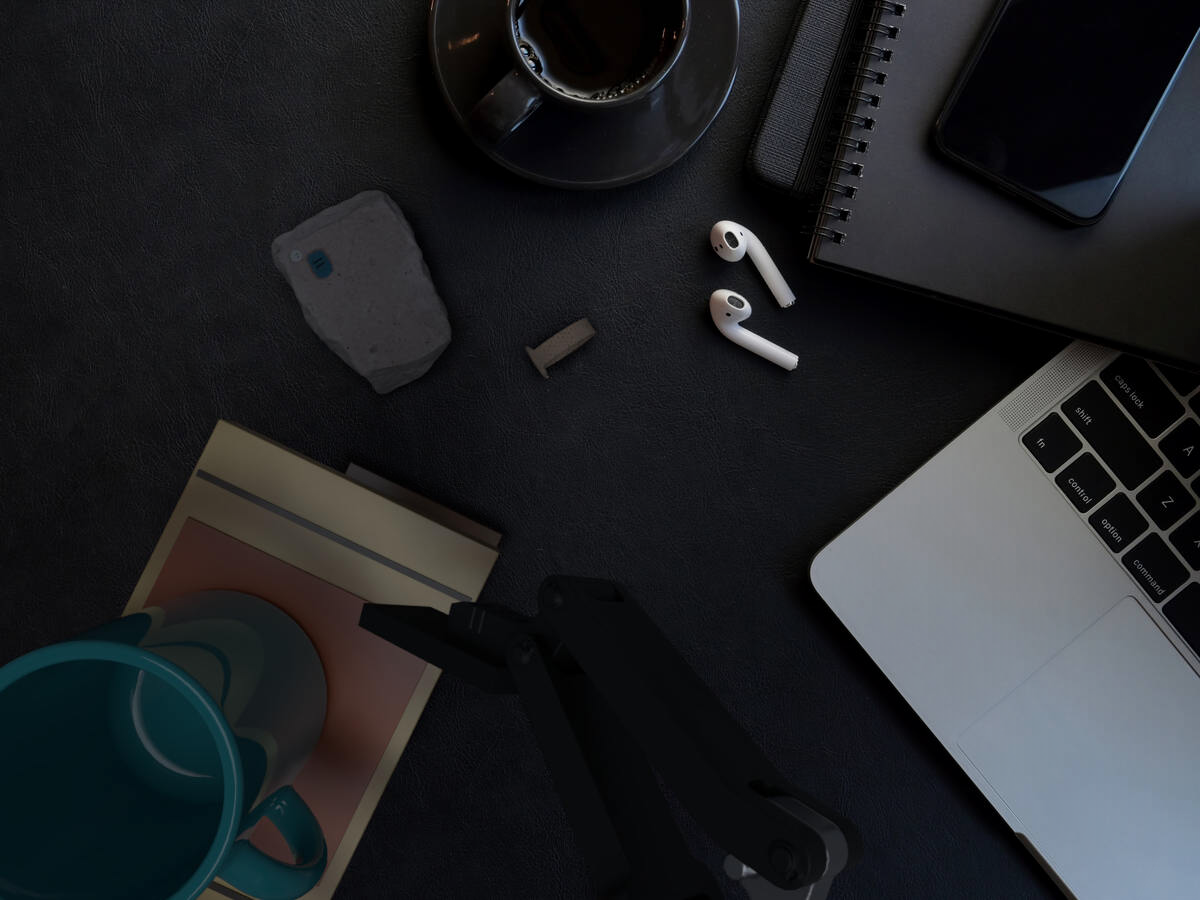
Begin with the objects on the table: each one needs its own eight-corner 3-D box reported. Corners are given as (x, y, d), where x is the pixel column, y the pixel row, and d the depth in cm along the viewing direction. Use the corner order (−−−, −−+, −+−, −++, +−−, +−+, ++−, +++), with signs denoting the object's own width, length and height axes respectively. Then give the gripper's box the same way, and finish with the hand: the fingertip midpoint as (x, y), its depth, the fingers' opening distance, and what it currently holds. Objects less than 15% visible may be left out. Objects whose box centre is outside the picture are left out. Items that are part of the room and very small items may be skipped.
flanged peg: (525, 351, 68) (523, 343, 63) (580, 315, 68) (582, 304, 63) (545, 382, 68) (545, 376, 63) (600, 346, 68) (604, 338, 63)
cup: (277, 897, 39) (165, 1078, 28) (63, 701, 38) (-139, 803, 27) (428, 737, 39) (378, 851, 28) (217, 541, 39) (80, 577, 28)
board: (299, 964, 41) (288, 986, 39) (22, 839, 40) (-1, 856, 38) (501, 549, 41) (499, 553, 39) (231, 419, 40) (217, 418, 39)
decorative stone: (274, 251, 67) (248, 232, 61) (390, 189, 68) (375, 164, 62) (365, 412, 68) (348, 409, 62) (480, 349, 68) (473, 340, 62)
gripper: (924, 1849, 19) (352, 1149, 33) (1199, 643, 19) (517, 465, 34) (718, 2345, 13) (137, 1247, 28) (1110, 636, 14) (338, 426, 28)
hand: (345, 817), depth 31 cm, fingers open, 13 cm apart
